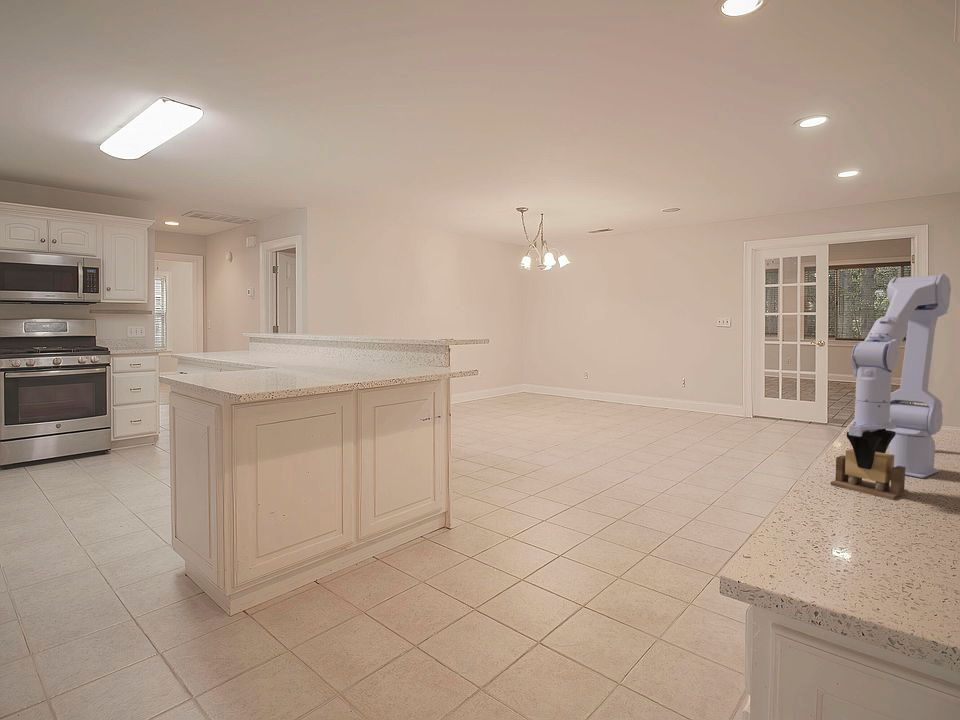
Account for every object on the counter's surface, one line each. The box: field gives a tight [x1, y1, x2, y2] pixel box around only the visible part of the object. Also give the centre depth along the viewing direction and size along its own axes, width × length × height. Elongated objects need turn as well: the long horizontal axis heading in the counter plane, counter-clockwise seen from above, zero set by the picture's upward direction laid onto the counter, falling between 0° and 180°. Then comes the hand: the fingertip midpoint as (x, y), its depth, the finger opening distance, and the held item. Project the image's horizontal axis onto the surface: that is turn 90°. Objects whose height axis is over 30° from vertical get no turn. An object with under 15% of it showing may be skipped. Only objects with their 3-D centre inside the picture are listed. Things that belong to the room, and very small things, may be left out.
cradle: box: [830, 454, 909, 501], centre depth 107 cm, size 7×11×6 cm, turn 32°
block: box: [845, 448, 895, 483], centre depth 107 cm, size 4×7×5 cm, turn 32°
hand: (869, 466), depth 107 cm, fingers closed on block, 4 cm apart
